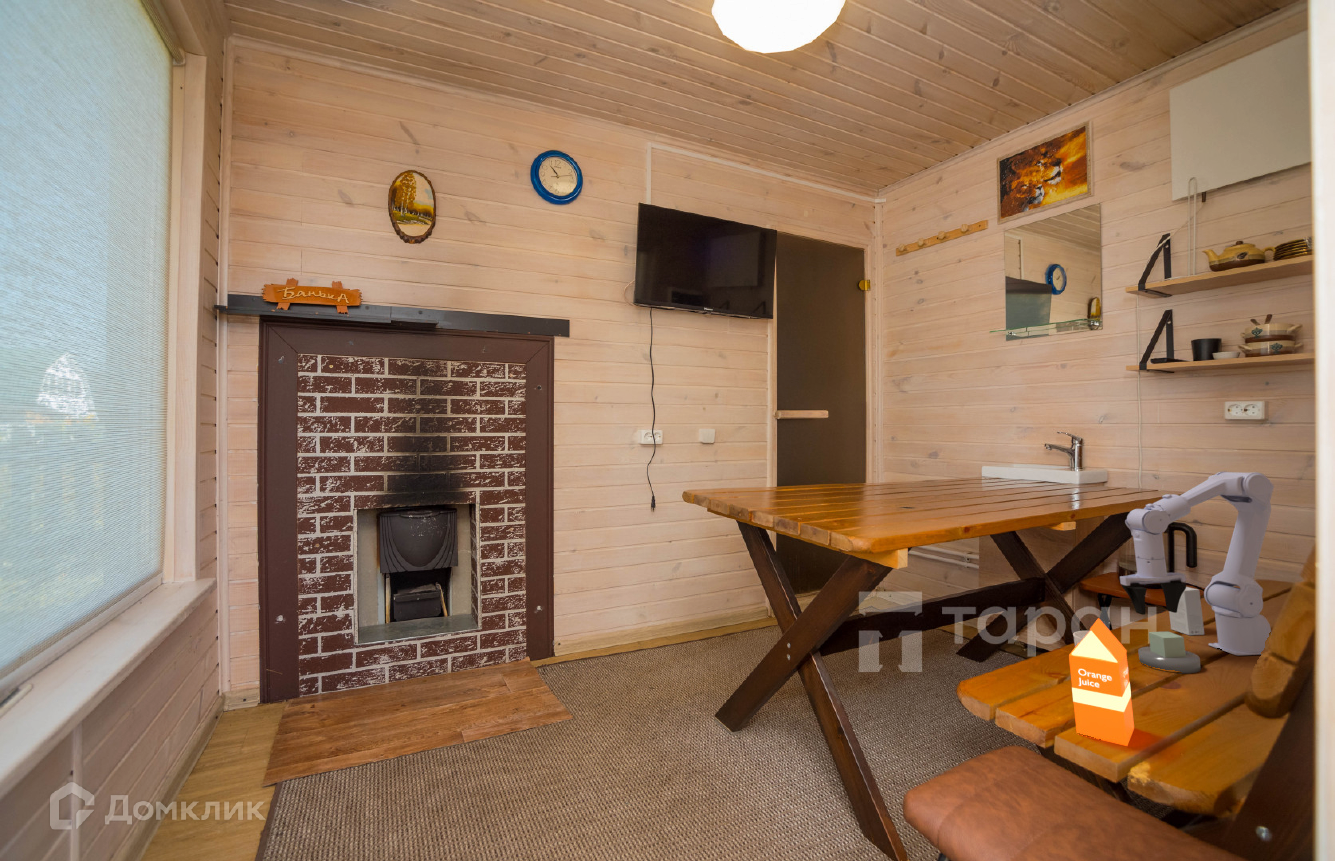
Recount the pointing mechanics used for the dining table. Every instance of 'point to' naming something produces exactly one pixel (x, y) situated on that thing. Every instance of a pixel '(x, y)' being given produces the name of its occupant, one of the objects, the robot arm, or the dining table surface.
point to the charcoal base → (1170, 661)
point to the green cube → (1167, 644)
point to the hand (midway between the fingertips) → (1156, 612)
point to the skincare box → (1188, 614)
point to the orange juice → (1101, 687)
